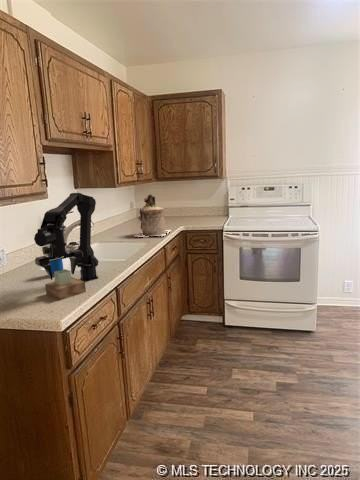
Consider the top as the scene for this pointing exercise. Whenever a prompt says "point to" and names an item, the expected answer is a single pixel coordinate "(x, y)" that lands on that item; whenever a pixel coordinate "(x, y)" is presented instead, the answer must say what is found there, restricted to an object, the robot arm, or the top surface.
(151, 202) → the cookie jar
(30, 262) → the top surface
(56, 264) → the beverage can
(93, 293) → the top surface
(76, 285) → the walnut block
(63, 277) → the sage green block
